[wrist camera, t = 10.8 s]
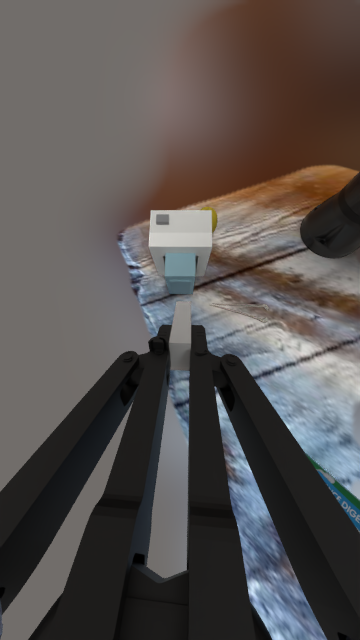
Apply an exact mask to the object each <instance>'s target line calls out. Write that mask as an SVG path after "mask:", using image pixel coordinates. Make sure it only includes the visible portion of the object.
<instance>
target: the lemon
mask: <svg viewBox="0 0 360 640" xmlns="http://www.w3.org/2000/svg"><path fill="white" fill-rule="evenodd" d="M201 210H212V233H213V232H214V231H215V229H216V226H217V214H216V212H215V210H214V209H213V208H211V207H204V208H202V209H201Z"/></svg>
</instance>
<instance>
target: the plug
mask: <svg viewBox="0 0 360 640" xmlns="http://www.w3.org/2000/svg"><path fill="white" fill-rule="evenodd" d="M165 279H166V283H167V287H168V290H169V294H193V288H194V281H195V253H166V256H165Z"/></svg>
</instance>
